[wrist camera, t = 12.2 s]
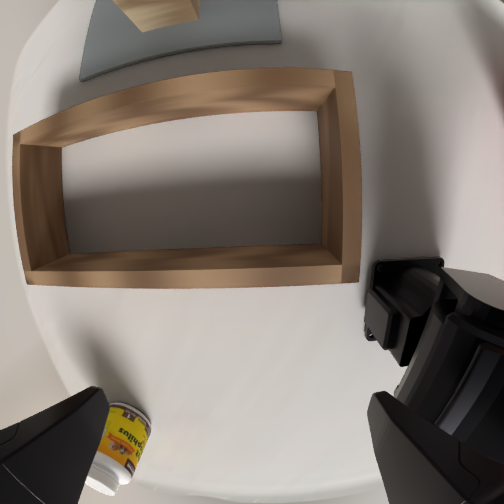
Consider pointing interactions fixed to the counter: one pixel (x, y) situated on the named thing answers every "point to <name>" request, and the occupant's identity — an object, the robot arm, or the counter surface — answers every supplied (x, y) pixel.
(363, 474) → the counter surface
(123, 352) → the counter surface
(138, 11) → the maple block
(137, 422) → the supplement bottle
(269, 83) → the walnut crate
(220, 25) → the slate mat
